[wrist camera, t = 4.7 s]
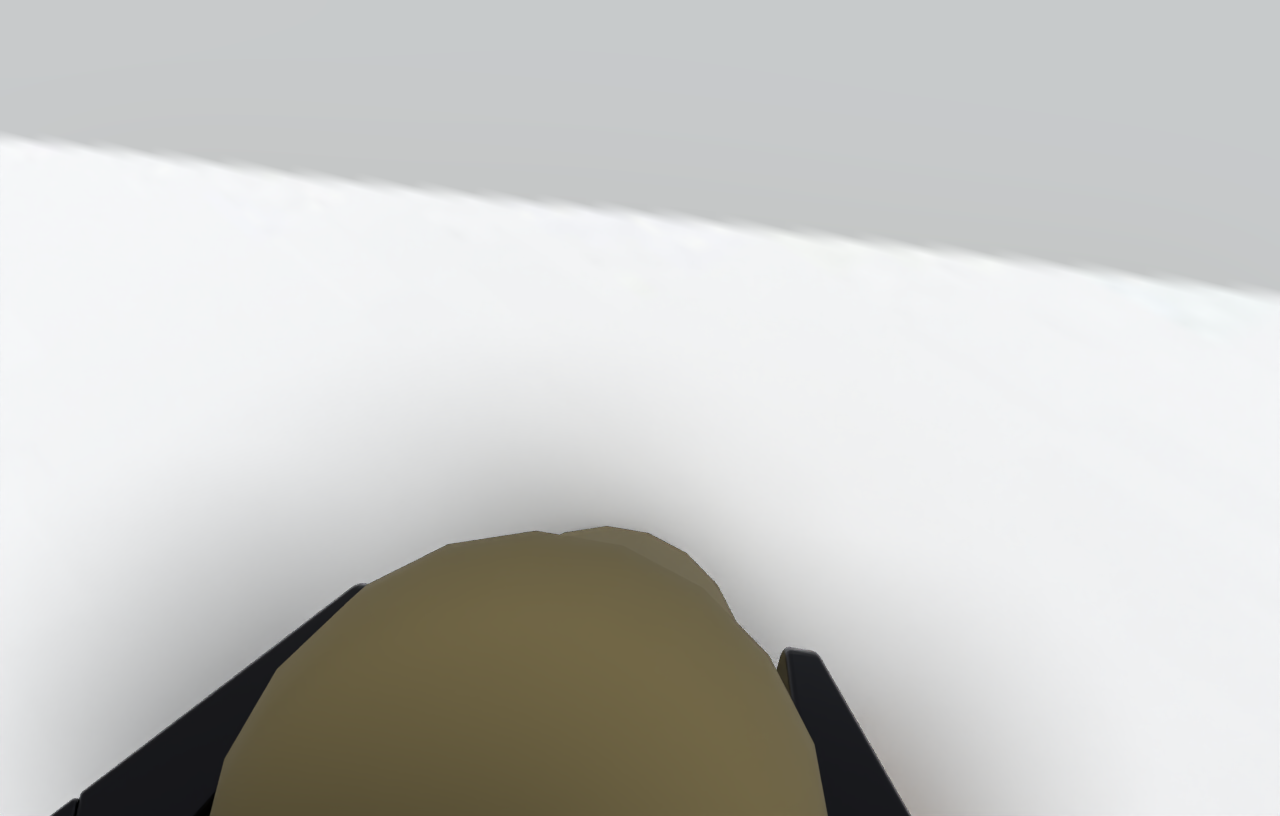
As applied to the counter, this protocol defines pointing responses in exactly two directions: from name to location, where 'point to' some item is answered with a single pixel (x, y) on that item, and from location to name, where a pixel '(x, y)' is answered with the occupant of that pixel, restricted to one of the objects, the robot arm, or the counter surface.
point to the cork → (528, 695)
